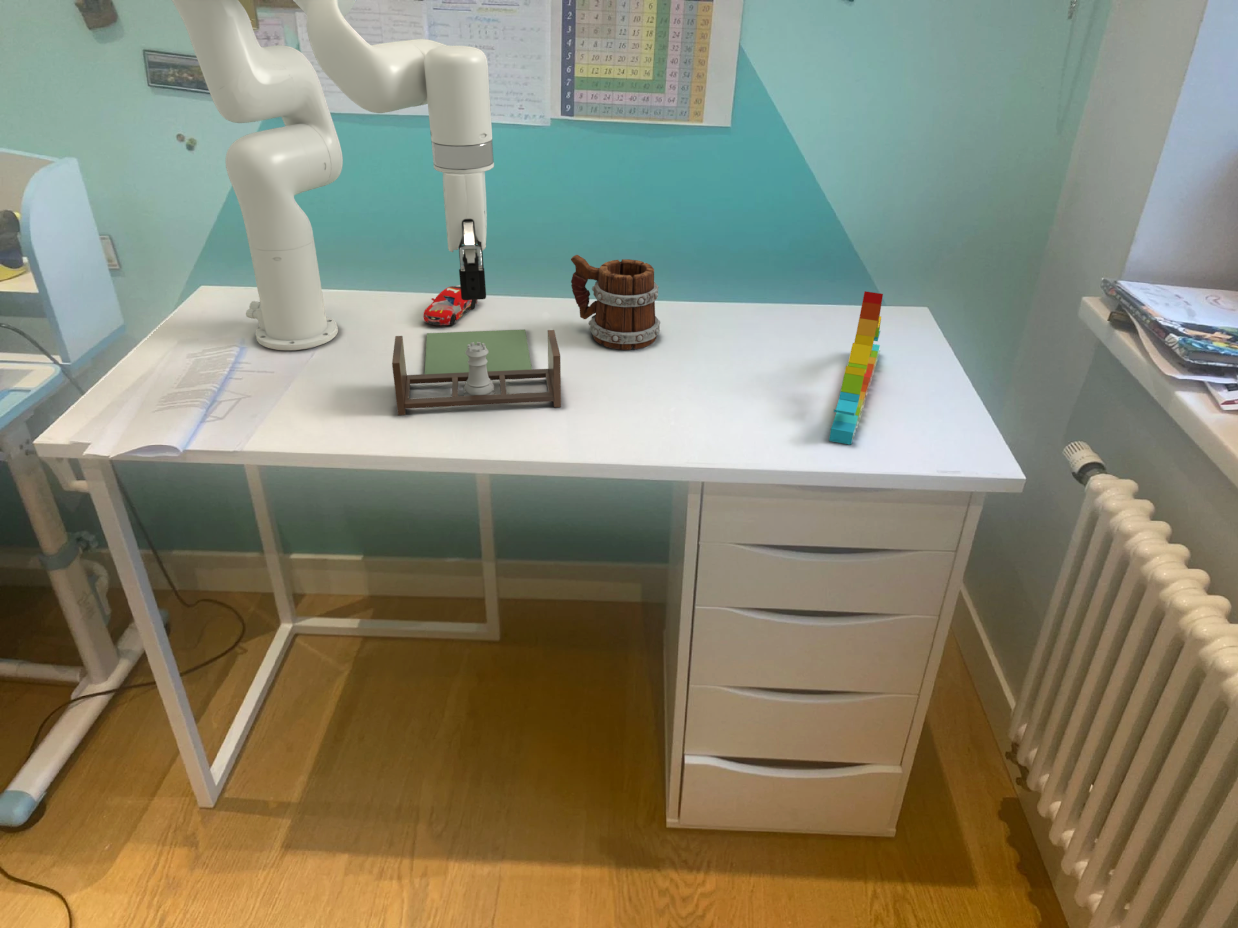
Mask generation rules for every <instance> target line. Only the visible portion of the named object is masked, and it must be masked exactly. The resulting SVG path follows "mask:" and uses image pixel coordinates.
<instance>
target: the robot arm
mask: <svg viewBox="0 0 1238 928" xmlns="http://www.w3.org/2000/svg"><path fill="white" fill-rule="evenodd" d="M292 1H293V2H294V3H295V4H296V5H297V7H299V8H300V9H301V10H302V11H303V12H304V14H305V15H306V32H307V37H308V40H309V43H310V47H311V50H312V52H313V55H314V58H315V59H316V62H317V64H318V65H319V67H320V68H321V70H322V72H324V74H325V75H326V76H327V77H328V78H329V80H330V81H332V82H333V83H334V85H335V86H336V87H337V88H338V89H339V90H340V91H341V92H342V93H343V94H344V95H345V96H346V97H347V98H348V99H349V100H350V101H352V102H353V103H354V104H356V105H357V106H358V107H360V108H361V109H363V110H365V111H368V112H370V113H373V114H375V113H376V114H385V113H391V112H395V111H399V110H403V109H404V110H405V109H409V108H413V107H414V108H415V107H421V106H424V105H427V111H428V121H429V130H430V131H429V132H430V141H431V152H432V163H433V165H432V166H433V170H435V171H437V172H439V173H442V193H443V205H444V217H445V227H446V239H447V240H446V241H447V250H448V251H449V252H450V253H454V251H458V258H459V269H458V275H459V285H460V288H461V298H462V300H478V301H479V300H485V299H487V287H486V274H485V273H486V272H485V267H484V254H483V253H484V251H485V249H486V248H487V229H488V209H487V208H488V207H487V187H486V186H487V185H486V172H488V171H490V170H492V169H494V168H495V161H494V145H493V144H494V143H493V130H492V129H493V128H492V109H491V95H490V93H491V91H490V75H489V63H488V58H487V55H486V54H485V52H484V51H483V50H482V49H480V48H478V47H475V46H468V45H448V44H445V43H442V42H439V41H436V40H433V39H427V38H414V39H407V40H396V41H389V42H383V43H377V44H370V43H369V42H368V41H366V40H365V39H364V38H363V37H362V36H361V35H360V34H359V33H358V31H356V30H355V29H354V28H353V27H352V25H351V24H350V23H349V22H348V21H347V19H346V16H348V14H349V13H350V12H351V11H352V9H353V8H354V6H355V4H356V2H357V0H292ZM171 2H172V3H173V5H174V7H175V9H176V11H177V12H178V14H179V17H180V18H181V19H182V22H183V24H184V27H185V29H186V31H187V35H188V37H189V40H190V43H191V46H192V49H193V51H194V55H195V56H196V60H197V62H198V65H199V67H200V70H201V74H202V76H203V79H204V81H205V84H206V87H207V89H208V92H209V94H210V97H211V99H212V101H213V104H214V106H215V108H216V109H217V112H218V113H219V114H220V116H222V118H223V119H225V120H227V122H231V123H234V124H249V123H255V122H260V121H261V122H262V121H267V120H271V119H277V118H281V120H282V121H283V124H284V126H280V127H274V128H273V127H272V128H270V129H264V130H259V131H255V132H251V133H248V134H245V135H243V136H241V137H238V138H237V139H236V140H235V141H233V142H232V143H231V145H230V146H229V147H228V149H227V151H226V154H225V168H226V173H227V176H228V179H229V182H230V184H231V186H232V189H233V192H234V194H235V196H236V199H237V202H238V205H239V208H240V211H241V215H242V220H243V222H244V229H245V232H246V238H247V243H248V248H249V252H250V256H251V263H252V268H253V273H254V279H255V284H256V289H257V295H258V299H259V301H256V300H253V301H250V303H249V308H247V310H246V311H245V316H246V318H249V319H253V320H257V321H258V327H257V328H256V330H255V338H256V341H257V343H258V344H259V345H261V346H262V347H265V348H268V349H271V350H277V351H300V350H307V349H312V348H317V347H319V346H321V345H324V344H326V343H328V342H330V341H332V340H333V339H334V338H335V337H336V336H337V335H338V332H339V328H338V323H337V322H336V320H335V319H333V318H331V317H329V316H327V315H326V308H325V302H324V296H323V287H322V281H321V275H320V269H319V262H318V257H317V249H316V243H315V242H316V241H315V238H314V231H313V226H312V224H311V221H310V218H309V217H308V215H307V213H306V212H305V211H304V210H303V209H302V208H301V206H300V205H299V204H298V203H297V201H296V199H295V196H297V195H299V194H302V193H306V192H309V191H312V190H315V189H320V188H323V187H325V186H329V185H331V184H332V183H334V182H336V180H338V178H339V177H340V176H341V174H342V171H343V166H344V160H343V159H344V157H343V152H342V151H343V150H342V147H341V143H340V140H339V136H338V133H337V130H336V126H335V123H334V120H333V118H332V114H331V111H330V108H329V105H328V102H327V99H326V95H325V92H324V89H323V86H322V84H321V81H320V78H319V76H318V73H317V71H316V69H315V68H314V66H313V64H312V63H311V62H310V60H309V59H308V58H307V56H305V54H303V52H301V51H300V50H298V49H297V48H294V47H292V46H289V45H282V44H281V45H280V44H279V45H276V44H275V45H269V46H268V45H267V46H261V45H260V42H259V41H258V38H257V37H256V36H257V35H256V34H255V31H254V29H253V25H252V22H251V19H250V16H249V14H248V12H247V10H246V9H245V7H244V6H243V4H242V3H241V1H239V0H171Z"/></svg>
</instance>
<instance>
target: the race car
mask: <svg viewBox="0 0 1238 928" xmlns="http://www.w3.org/2000/svg"><path fill="white" fill-rule="evenodd" d="M430 299H431V303H430V304H429V305H428V306H427V307H426V308H425V309H424V311H423V315H422V317H423V321H424V322H425V323H426V324H429V325H434V326H454V325H455V324H456V321H458V320H460V318H462V317H463V316H464V315H466V314H467V313H468V312H469V311H470V310H474V309H475V307H476V305H477V304H478V301H479V300H462V298H461V288H460V284H459V285H450V286H448V287H446V288H444V289H443V290H442V291H441V292H439V293H438V294H437V295H436V296H435V298H430Z"/></svg>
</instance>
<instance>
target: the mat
mask: <svg viewBox="0 0 1238 928" xmlns="http://www.w3.org/2000/svg"><path fill="white" fill-rule="evenodd" d="M472 342H474V345H477V342H481V345H482V343H484V344H485V346H486V348H487V349H488V351H489V352H488V354H487V355H486V359H487V361H488V362H487V364H486V368H487V371H508V370H530V369H533V367H532V361H531V357H530V356H531V355H530V350H529V344H528V338H527V332H526V329H503V330H502V329H501V330H476V331H475V330H473V331H451V332H449V331H448V332H447V331H446V332H427V333H426V344H425V359H424V360H425V362H424V374H441V373H463V372H469V364H468V360H469V357H468V356H467V355H466V354H465V351H466V350H467V349H468V347H467V345H468V344H470V346H471V343H472Z"/></svg>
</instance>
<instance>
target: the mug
mask: <svg viewBox="0 0 1238 928" xmlns="http://www.w3.org/2000/svg"><path fill="white" fill-rule="evenodd" d="M570 261H571V263H572V264H573V265H574V267H575V271H574V272H573V273H572V276H571V280H570V283H571V285H570V286H571V291H572V294H573V297H574V300H575V303H576V305H577V307H578V308H579V317H580V319H583V320H587V319H589V318H590V317H591V316H592V315H593V316H592V317H591V319H590V320H589V321H588V325H589V330H590V332H591V334H592V337H593V339H594V341H595V342H596V343H597V344H599V345H601V346H602V345H603V346H604V347H606V348H608V349H609V348H610V349H612V350H621V351H631V350H632V348H633V349H634V350H639V349H644V348H646V347H649V346H651V345H653V343H654V342H656V340H657V337H658V335H660V329H661V328H660V326H661V320H660V319H659V318H658V317H657V316H656V302H655V301H656V300H658V299H659V298H658V297H659V288H660V287H659V285H658V284H657V283H656V281H655V268H654V267H653V266H652V264H649V263H648V262H644V261H642V260H637V259H627V258H624V259H621V261H620V260H619V259H613V260H609V261H605V262H604V263H603V264H601V265H600V266H599V267H595V266H592V265H591V264H589V262H588V261H587V260H586V259H585V258H584V257H582V256H580V255H579V254H575V255H573V256H572V257H571V258H570ZM589 280H591V281H592V280H593V281H595V283H594V284H593V286H592V287H591V291H592V292H593V294H592V295H593V297H594V298H595V300H594V301H593V302H592V303H591V304H590V296H591V292H590V290H589V289H587V287H586V285H587V283H588V281H589ZM589 304H590V305H589Z"/></svg>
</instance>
